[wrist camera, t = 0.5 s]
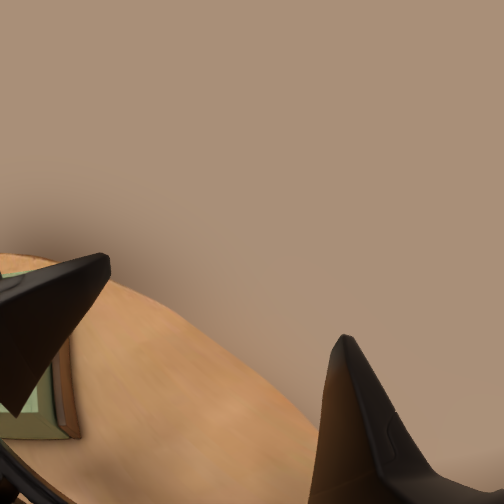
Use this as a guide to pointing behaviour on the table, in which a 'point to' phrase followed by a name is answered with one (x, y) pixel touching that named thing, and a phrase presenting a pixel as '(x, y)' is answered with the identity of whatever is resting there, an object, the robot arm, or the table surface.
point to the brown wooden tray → (64, 392)
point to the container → (33, 409)
